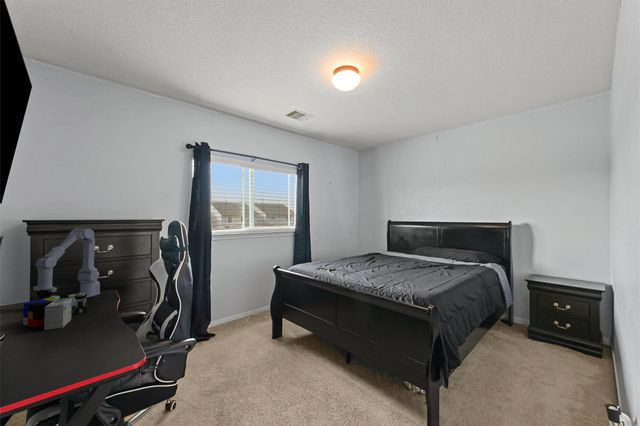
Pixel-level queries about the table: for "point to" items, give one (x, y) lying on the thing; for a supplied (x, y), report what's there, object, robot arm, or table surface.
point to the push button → (80, 303)
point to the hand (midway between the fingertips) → (44, 303)
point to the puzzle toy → (36, 312)
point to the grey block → (71, 297)
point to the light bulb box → (57, 314)
